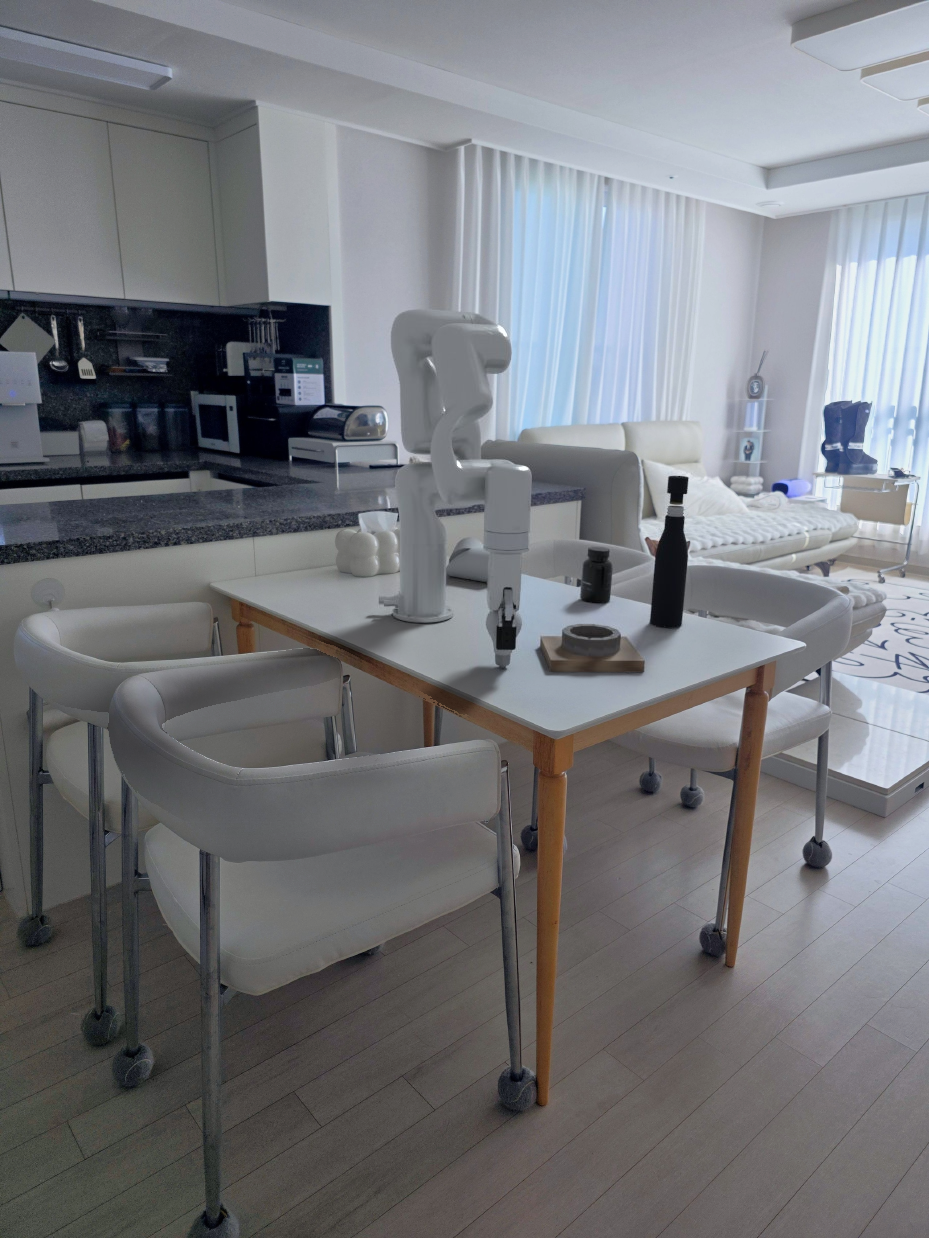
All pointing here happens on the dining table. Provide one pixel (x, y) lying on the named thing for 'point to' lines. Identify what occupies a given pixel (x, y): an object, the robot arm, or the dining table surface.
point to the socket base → (591, 650)
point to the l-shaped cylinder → (469, 560)
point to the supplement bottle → (596, 576)
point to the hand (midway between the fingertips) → (503, 640)
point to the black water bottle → (671, 561)
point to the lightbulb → (491, 624)
